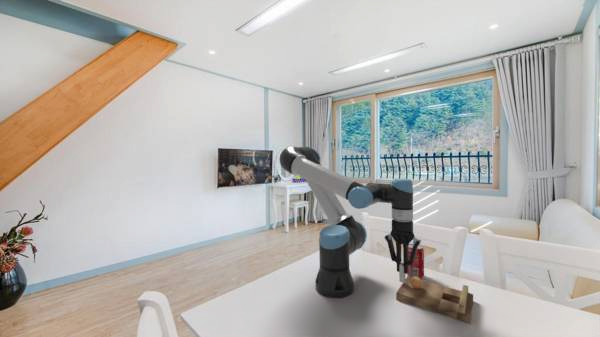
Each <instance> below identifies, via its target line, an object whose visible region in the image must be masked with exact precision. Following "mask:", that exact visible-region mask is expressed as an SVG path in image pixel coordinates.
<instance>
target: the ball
mask: <svg viewBox="0 0 600 337" xmlns="http://www.w3.org/2000/svg"><path fill="white" fill-rule="evenodd" d="M421 280H422V278H421V279H420V278H418V277H413V278H412V279H411V281H410V283H411V285H412V287H414V288H416V289H419V288H421V287H422V281H423V280H422V281H421Z"/></svg>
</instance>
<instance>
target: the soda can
mask: <svg viewBox="0 0 600 337" xmlns="http://www.w3.org/2000/svg"><path fill="white" fill-rule="evenodd" d="M413 245H414V244H413V243H409V246H408V260H409V259H410V256H411V252H412V248H413ZM423 247H424V246H423V245H421V244H419V245H418V248H417V251H416V255H415V258H414V262H413V264H412V265H408V273H407V274H406V275H407V276H408V277H411V278H413V277H418V278H420V279H421V280H422V278H424V276H425V250H424V248H423Z"/></svg>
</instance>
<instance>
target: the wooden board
mask: <svg viewBox="0 0 600 337" xmlns="http://www.w3.org/2000/svg"><path fill="white" fill-rule="evenodd" d="M411 279H412V278H411V277H409V276H408V275H407V277H405V281H404V283H403V282H402V283H401V285H400V286H399V288H398V289H397V291H396V295H395V296H396V299H395V300H398V301H401V302H403V303H406V304H408V305H411V306H415V307H417V308H421V309H424V310H427V311H431V312H434V313H437V314H439V315H442V316H445V317H449V318H451V319H455V320H457V321H460V322H463V323H467V324H471V322H472V321H471V320H472V313H473V306H474V294H473V293H471V292H469V285H466V284H463V285H462V288H461V290H459V289H455V288H451V287H448V286H443V285H441V284H437V283H434V282H433V283H432V282H430V281H425V280H422V279H421V281H422V287H421V288H419V289H416V288H414V287H412V285H411V283H410V281H411Z"/></svg>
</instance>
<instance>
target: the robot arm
mask: <svg viewBox="0 0 600 337" xmlns="http://www.w3.org/2000/svg"><path fill="white" fill-rule="evenodd" d="M279 164H280V166H281V168H282V169H283V170H284V171H286V172H287V173H289V174H291V175H293V176H299V177H300V178H301V179H304V180H305V181H306V182H307V183H306V184H307V185H308V187H309V188H310V190H311V191H312V193H313V195H314V197H315V199H316V200H317V202H318V204H319V206H320V207H321V209H322V211H323V213H324V215H325V216H326V218H327V219H328V221H329V224H330V225H327V226H325V227H323V228H322V229H321V230H320V231H319V238H318V242H319V244H318V245H319V246H318V248H319V250H318V251H319V268H318V272H317V274H316V276H315V280H314V281H315V283H314V284H315V286H314V287H315V289H316V291H317V293H319V294H321V295H323V296H326V297H328V298H338V299H339V298H345V297H348V296H351V295H352V294H353V293H354V291H355V282H354V279H353V276H352V273H351V270H350V255H352V254H353V253H355V252H356V251H357V250H359V249H361V248H362V247H363V246H364V245H365V243H366V241H367V236H368V235H367V233H368V232H367V230H366V227H365V225H363V223H362V222H359V221H357V220H356V219H355V218H354V217H353V215H352V214H349V213H347V211H346V210H345V208H344V206H343V205H342V203H341V201H340V200H339V198H338V196H339V197H341V198H343V199H345V200H347V201H348V202H349V204H350V206H351V207H352V208H354V209H358V210H360V209H366V208H368V207H370V206H372V205H374V204H377V203H385V204H391V231H390V233H389V234H386V235H385V236H384V239H385V241H386V242H387V246H388V251H389V254H390V259H391V261H392V262H395V264H396V272H397V273H399V278H398V280H399V282H401V283H402V284H403V283H404V281H405V279H406V275H407V273H408V265H412V264H413V262H414V258H415V255H416V251H417V248H418V245H421V243H422V240H421V239H418V238H416V237H415V234H414V222H413V220H414V188H413V187H414V186H413V181H412V179H408V178H393V179H391V181H390V182H391V183H377V182H364V183H363V184H362V183H360V182H357V181H355V180H353V179H351V178H349V177H347V176H344V175H343V174H339V173H338V172H335V171H334V170H331V169H330V168H327V167H325V166H323V165H322V164H321V156H320V153H319V152H318V150H316V149H315V148H313V147H310V146H287V147H285V148H284V149H283V150H282V151H281V152H280V155H279ZM393 240H394V241H395V247H394V242H393ZM411 242H412V244H414V245H413V248H412V252H411V256H410V259H409V260H408V246H409V244H411ZM402 247H403V250H402ZM402 252H403V256H402ZM402 258H403V259H402ZM402 260H403V262H402Z"/></svg>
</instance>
